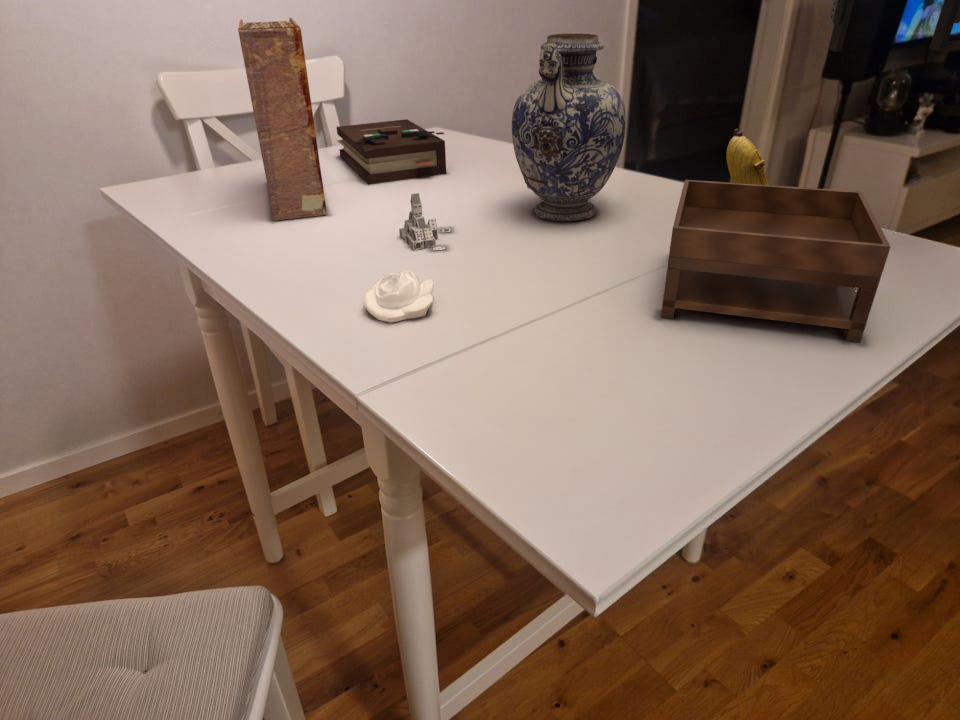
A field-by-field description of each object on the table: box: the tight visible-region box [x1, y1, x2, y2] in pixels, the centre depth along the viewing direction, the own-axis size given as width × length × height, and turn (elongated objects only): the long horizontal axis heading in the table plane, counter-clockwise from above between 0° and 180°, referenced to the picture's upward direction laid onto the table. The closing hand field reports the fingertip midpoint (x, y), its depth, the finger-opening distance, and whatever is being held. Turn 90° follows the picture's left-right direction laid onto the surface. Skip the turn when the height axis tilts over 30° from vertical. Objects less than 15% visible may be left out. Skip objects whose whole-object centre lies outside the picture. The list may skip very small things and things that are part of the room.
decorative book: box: [336, 118, 447, 185], centre depth 144 cm, size 19×8×30 cm
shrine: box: [726, 128, 770, 185], centre depth 104 cm, size 12×8×15 cm
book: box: [237, 17, 328, 222], centre depth 118 cm, size 25×9×30 cm, turn 17°
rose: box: [363, 269, 434, 323], centre depth 84 cm, size 10×4×10 cm
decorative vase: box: [511, 33, 627, 223], centre depth 108 cm, size 21×19×28 cm
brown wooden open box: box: [660, 179, 891, 343], centre depth 82 cm, size 22×20×12 cm
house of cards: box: [398, 192, 451, 251], centre depth 103 cm, size 9×9×8 cm
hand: (885, 50), depth 91 cm, fingers open, 13 cm apart
